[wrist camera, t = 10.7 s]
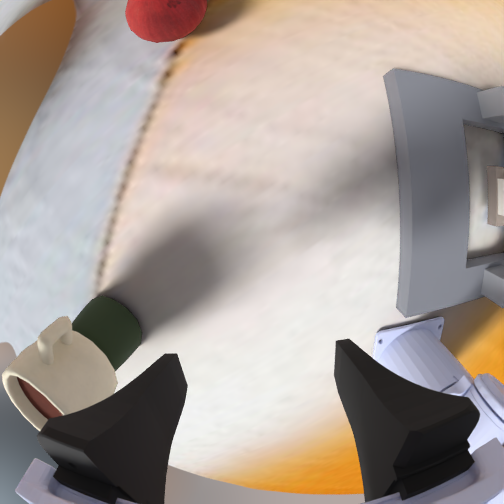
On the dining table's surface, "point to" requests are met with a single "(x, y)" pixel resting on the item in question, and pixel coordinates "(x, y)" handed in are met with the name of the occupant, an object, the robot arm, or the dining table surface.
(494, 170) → the white notched u-block
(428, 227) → the grey piece
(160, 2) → the onion
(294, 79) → the dining table surface
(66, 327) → the character mug
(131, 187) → the dining table surface
